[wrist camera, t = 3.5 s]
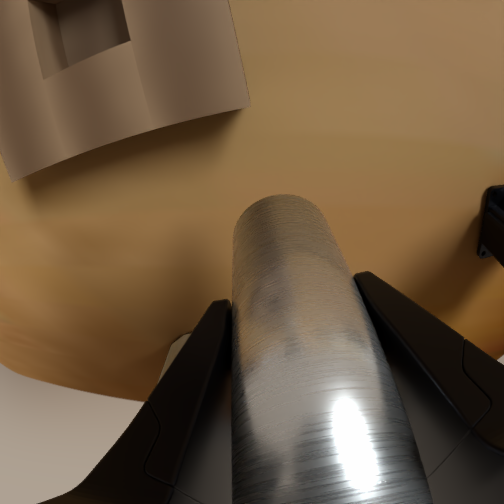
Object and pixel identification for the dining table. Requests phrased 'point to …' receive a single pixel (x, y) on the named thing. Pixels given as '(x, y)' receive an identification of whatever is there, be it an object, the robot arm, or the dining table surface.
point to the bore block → (109, 73)
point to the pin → (310, 372)
